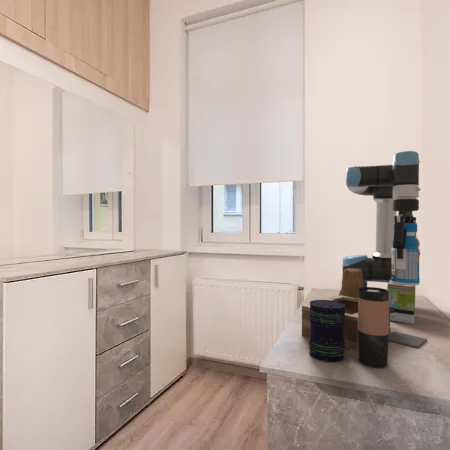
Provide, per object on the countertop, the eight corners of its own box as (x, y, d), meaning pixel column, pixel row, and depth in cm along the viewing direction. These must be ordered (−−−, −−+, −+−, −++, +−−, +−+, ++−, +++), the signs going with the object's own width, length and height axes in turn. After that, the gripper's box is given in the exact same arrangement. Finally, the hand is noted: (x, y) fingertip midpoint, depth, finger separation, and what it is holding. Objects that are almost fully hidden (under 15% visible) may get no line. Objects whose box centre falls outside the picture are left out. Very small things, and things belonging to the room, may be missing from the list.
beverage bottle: (405, 286, 99) (405, 222, 99) (384, 282, 107) (385, 223, 107) (426, 285, 101) (426, 223, 101) (405, 281, 109) (405, 223, 110)
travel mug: (392, 362, 87) (392, 289, 87) (383, 371, 81) (384, 293, 81) (363, 354, 92) (363, 285, 92) (353, 362, 86) (354, 289, 86)
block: (359, 321, 125) (359, 270, 125) (339, 318, 129) (340, 269, 129) (365, 315, 133) (365, 268, 134) (347, 312, 138) (347, 266, 138)
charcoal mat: (394, 332, 111) (394, 331, 111) (426, 340, 104) (426, 338, 104) (383, 339, 104) (383, 337, 104) (417, 348, 97) (417, 346, 97)
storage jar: (304, 349, 96) (304, 299, 96) (335, 348, 96) (336, 299, 96) (316, 363, 86) (316, 308, 86) (351, 362, 86) (351, 307, 87)
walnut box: (339, 319, 127) (339, 294, 127) (390, 331, 113) (390, 303, 113) (301, 335, 108) (301, 305, 108) (356, 351, 94) (356, 317, 94)
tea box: (415, 324, 122) (415, 286, 122) (386, 320, 127) (386, 283, 127) (415, 315, 135) (415, 280, 135) (388, 312, 140) (389, 278, 140)
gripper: (407, 195, 95) (407, 271, 95) (427, 200, 109) (427, 266, 109) (381, 197, 100) (381, 269, 100) (403, 201, 114) (403, 264, 114)
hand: (405, 267), depth 104 cm, fingers closed on beverage bottle, 8 cm apart
